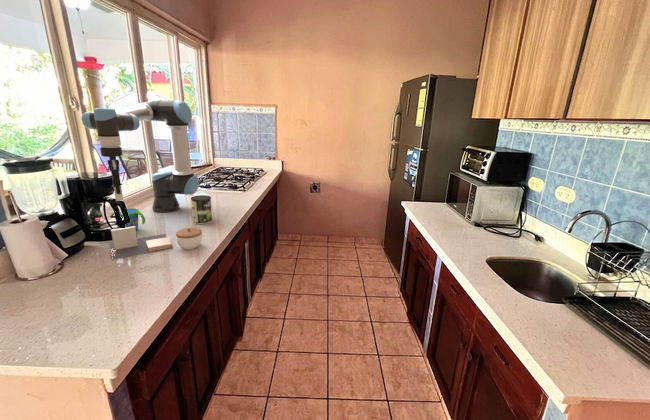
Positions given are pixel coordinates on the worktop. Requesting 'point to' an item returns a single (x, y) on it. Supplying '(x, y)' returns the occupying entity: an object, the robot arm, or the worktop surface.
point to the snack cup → (133, 217)
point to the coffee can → (201, 209)
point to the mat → (136, 248)
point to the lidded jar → (189, 238)
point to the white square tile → (124, 237)
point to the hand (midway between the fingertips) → (119, 200)
